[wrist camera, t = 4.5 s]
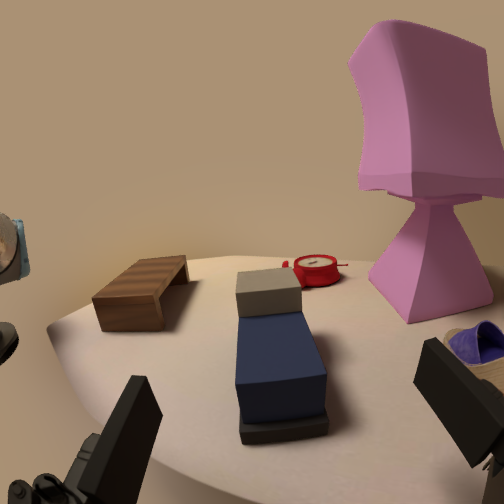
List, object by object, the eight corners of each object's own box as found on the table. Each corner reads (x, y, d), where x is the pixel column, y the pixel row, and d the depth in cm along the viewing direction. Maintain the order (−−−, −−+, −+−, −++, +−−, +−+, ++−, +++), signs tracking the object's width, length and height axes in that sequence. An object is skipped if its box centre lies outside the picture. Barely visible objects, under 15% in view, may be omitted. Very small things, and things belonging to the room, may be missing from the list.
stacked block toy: (327, 434, 19) (337, 348, 17) (242, 444, 19) (224, 361, 17) (295, 328, 39) (292, 264, 36) (243, 334, 39) (235, 269, 36)
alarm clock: (353, 263, 53) (287, 259, 49) (347, 292, 54) (282, 292, 50) (328, 252, 63) (269, 247, 59) (324, 277, 64) (265, 275, 60)
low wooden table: (162, 331, 41) (152, 294, 40) (101, 331, 41) (91, 297, 40) (189, 280, 64) (185, 254, 63) (144, 284, 65) (139, 259, 63)
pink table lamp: (500, 305, 31) (486, 48, 20) (403, 329, 33) (377, 14, 22) (442, 267, 53) (429, 78, 42) (360, 277, 55) (342, 67, 44)
